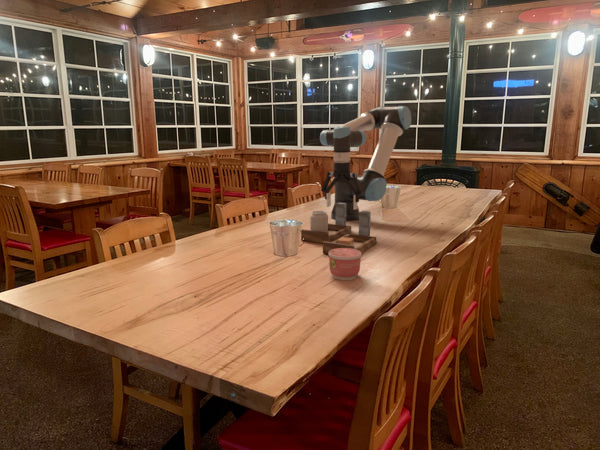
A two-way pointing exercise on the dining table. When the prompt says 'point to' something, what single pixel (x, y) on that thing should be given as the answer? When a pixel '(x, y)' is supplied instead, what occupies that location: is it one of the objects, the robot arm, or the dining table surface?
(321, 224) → the can
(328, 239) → the frame
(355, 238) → the lane
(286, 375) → the dining table surface
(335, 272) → the container
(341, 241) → the cube
